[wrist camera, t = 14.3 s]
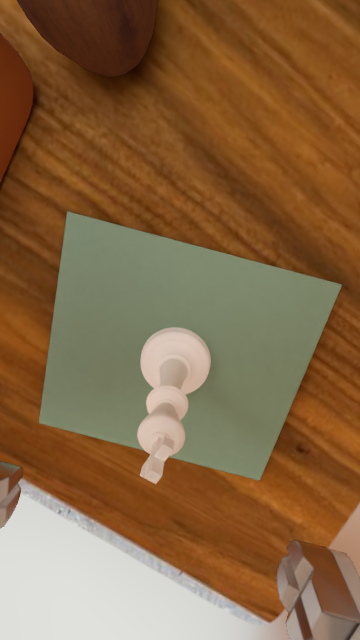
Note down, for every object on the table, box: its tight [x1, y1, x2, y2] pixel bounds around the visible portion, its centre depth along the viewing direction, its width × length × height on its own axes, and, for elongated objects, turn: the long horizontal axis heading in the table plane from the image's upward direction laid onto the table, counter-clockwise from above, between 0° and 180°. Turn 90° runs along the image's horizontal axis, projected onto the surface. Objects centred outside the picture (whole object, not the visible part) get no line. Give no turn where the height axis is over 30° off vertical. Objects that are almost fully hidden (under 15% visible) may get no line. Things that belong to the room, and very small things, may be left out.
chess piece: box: [137, 327, 211, 484], centre depth 14 cm, size 5×5×10 cm
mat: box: [39, 211, 342, 480], centre depth 19 cm, size 18×16×1 cm
